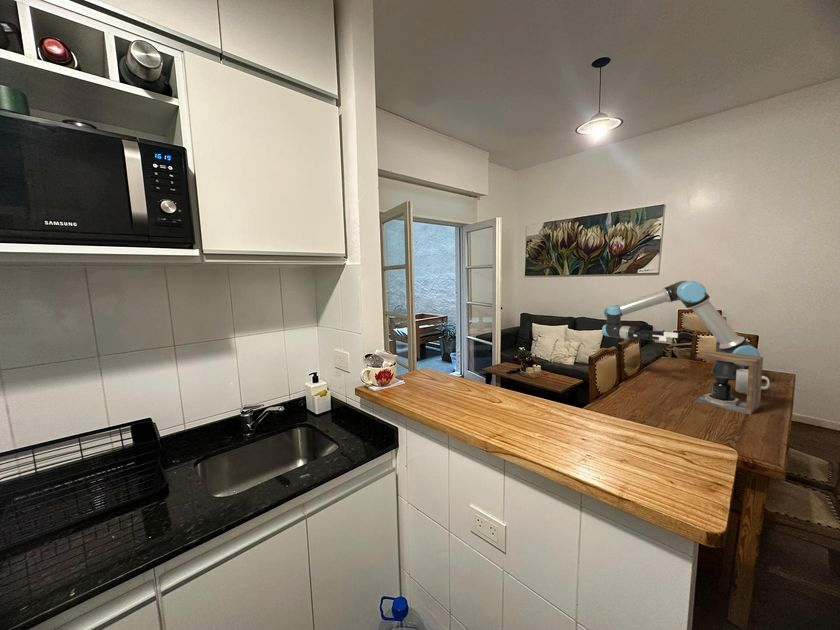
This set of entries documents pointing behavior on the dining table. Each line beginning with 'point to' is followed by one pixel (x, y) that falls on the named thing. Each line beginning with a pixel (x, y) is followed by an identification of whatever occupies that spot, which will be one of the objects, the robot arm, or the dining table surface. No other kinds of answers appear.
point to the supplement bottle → (722, 388)
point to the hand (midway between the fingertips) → (672, 337)
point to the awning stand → (753, 382)
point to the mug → (746, 381)
